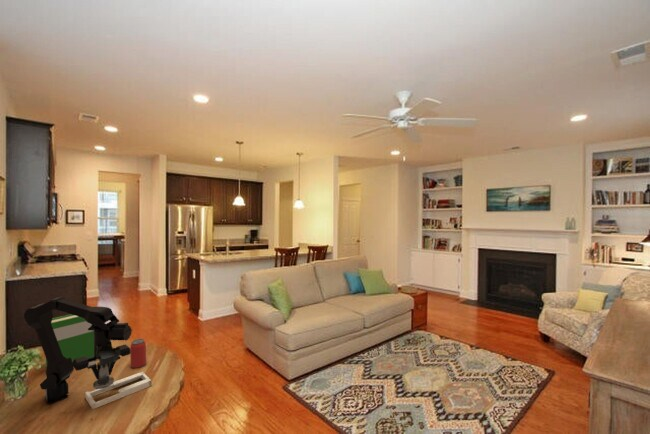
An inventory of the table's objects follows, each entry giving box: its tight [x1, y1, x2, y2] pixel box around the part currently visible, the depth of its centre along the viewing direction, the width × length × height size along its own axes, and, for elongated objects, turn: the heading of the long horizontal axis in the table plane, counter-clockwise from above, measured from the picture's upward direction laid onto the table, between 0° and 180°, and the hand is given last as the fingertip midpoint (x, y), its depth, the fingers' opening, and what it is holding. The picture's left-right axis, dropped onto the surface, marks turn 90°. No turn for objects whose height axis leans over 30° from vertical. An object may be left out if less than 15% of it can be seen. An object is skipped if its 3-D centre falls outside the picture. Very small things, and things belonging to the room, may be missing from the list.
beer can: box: [129, 338, 147, 369], centre depth 158 cm, size 7×7×12 cm
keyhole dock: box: [85, 371, 152, 410], centre depth 136 cm, size 22×11×2 cm, turn 138°
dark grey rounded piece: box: [92, 361, 115, 390], centre depth 131 cm, size 7×7×9 cm
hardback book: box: [45, 314, 94, 368], centre depth 158 cm, size 18×7×24 cm, turn 142°
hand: (103, 376), depth 132 cm, fingers closed on dark grey rounded piece, 4 cm apart
